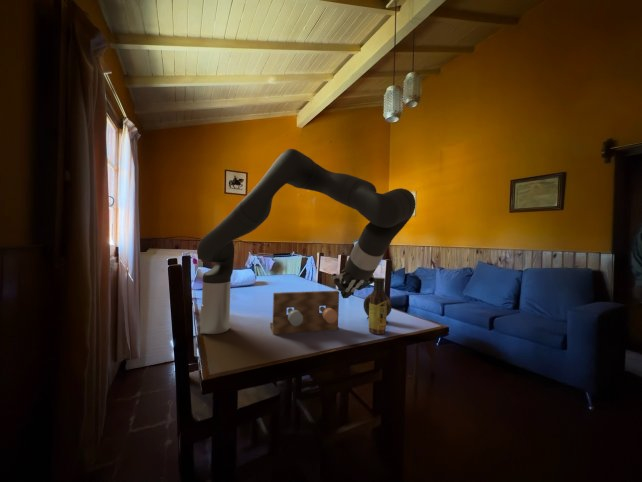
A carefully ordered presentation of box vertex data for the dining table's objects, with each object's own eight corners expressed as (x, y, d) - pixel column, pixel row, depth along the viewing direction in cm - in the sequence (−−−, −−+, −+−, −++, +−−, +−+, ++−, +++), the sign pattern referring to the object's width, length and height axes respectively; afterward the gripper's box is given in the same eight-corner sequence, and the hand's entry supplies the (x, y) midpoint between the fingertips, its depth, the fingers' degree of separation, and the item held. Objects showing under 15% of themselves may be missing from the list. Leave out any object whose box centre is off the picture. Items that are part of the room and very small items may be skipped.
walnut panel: (273, 334, 93) (274, 293, 92) (270, 326, 100) (271, 289, 100) (337, 329, 100) (339, 291, 100) (330, 322, 108) (331, 287, 107)
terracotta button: (316, 315, 99) (316, 303, 99) (327, 314, 100) (327, 302, 100) (325, 323, 89) (325, 310, 89) (337, 322, 91) (337, 309, 91)
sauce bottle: (382, 336, 94) (384, 279, 94) (365, 332, 97) (367, 278, 97) (388, 331, 100) (390, 277, 99) (372, 327, 103) (374, 276, 103)
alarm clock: (391, 322, 110) (392, 283, 110) (387, 326, 106) (388, 284, 105) (366, 317, 116) (367, 280, 116) (361, 320, 111) (362, 281, 111)
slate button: (283, 317, 95) (284, 304, 95) (295, 316, 96) (296, 304, 96) (289, 326, 86) (289, 312, 86) (302, 325, 87) (303, 311, 87)
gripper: (382, 247, 73) (360, 284, 85) (337, 246, 69) (320, 285, 81) (393, 269, 68) (368, 305, 80) (344, 269, 64) (326, 308, 76)
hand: (344, 295), depth 80 cm, fingers closed
